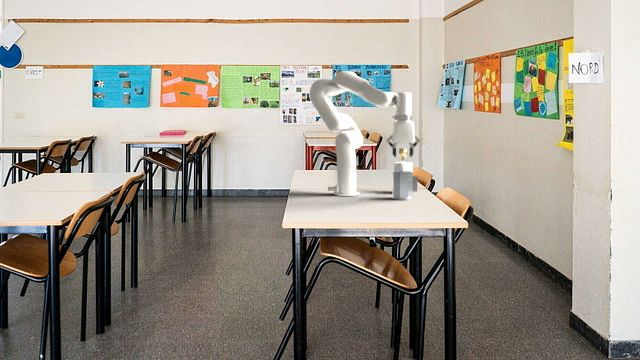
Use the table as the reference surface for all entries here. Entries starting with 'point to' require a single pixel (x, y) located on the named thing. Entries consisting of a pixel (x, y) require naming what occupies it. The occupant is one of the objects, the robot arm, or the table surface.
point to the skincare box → (406, 166)
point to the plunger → (402, 157)
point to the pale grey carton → (404, 185)
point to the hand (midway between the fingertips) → (402, 156)
